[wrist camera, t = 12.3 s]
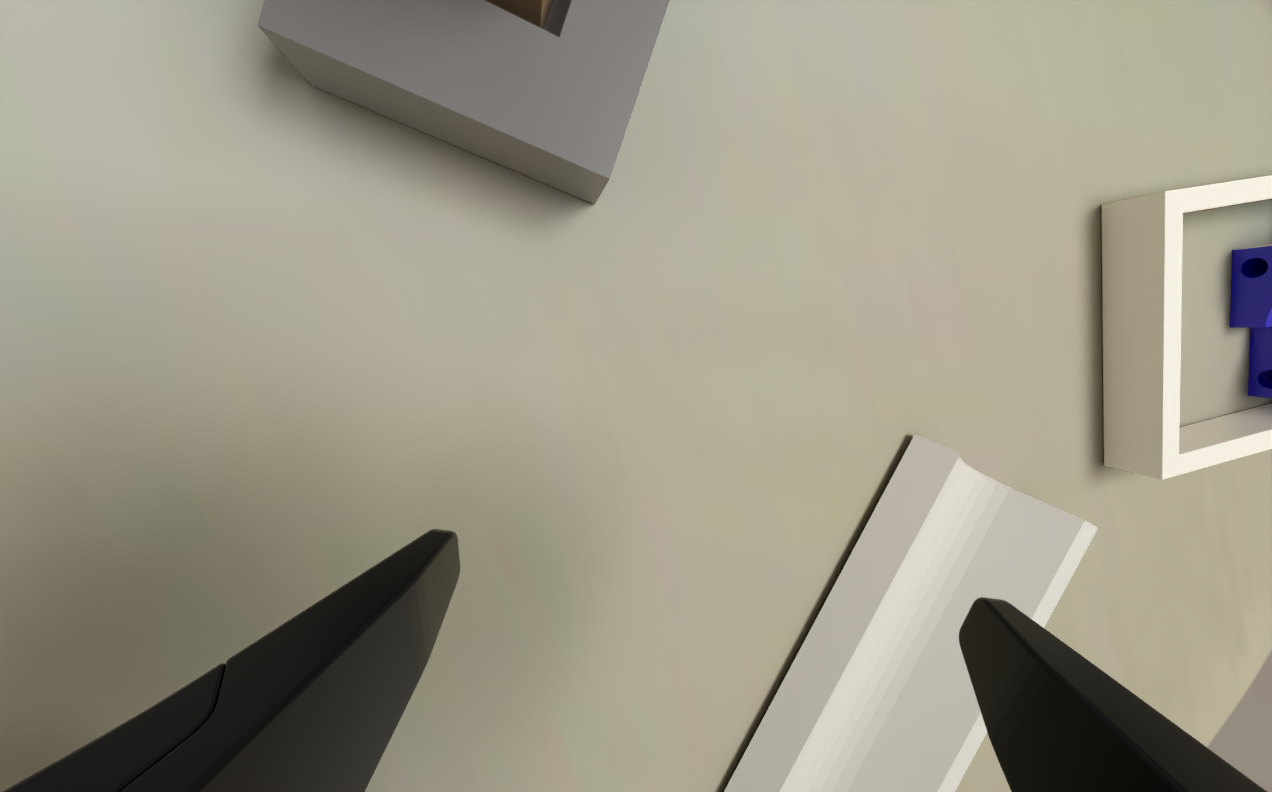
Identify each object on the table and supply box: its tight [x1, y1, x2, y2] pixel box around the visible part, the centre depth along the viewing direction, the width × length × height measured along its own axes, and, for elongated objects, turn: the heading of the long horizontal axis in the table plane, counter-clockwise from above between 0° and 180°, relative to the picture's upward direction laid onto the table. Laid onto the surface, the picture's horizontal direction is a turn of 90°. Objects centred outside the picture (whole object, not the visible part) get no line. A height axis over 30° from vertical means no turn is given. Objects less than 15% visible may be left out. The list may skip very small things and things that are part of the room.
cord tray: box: [1102, 175, 1272, 480], centre depth 26 cm, size 13×13×2 cm
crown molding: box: [724, 434, 1098, 792], centre depth 25 cm, size 31×12×4 cm, turn 151°
